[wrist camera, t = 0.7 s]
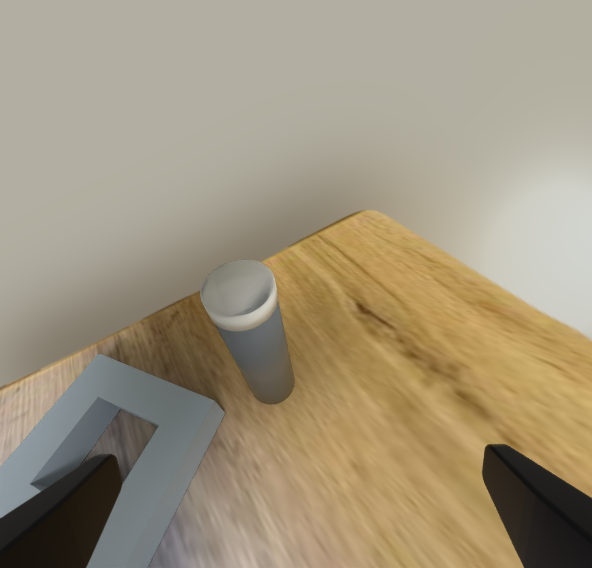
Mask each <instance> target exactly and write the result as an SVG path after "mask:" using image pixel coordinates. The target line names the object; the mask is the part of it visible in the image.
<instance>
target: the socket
mask: <svg viewBox="0 0 592 568" xmlns="http://www.w3.org/2000/svg"><path fill="white" fill-rule="evenodd" d="M120 409H121V410H123V411H125V412H127V413H129V414H132V415H134V416H136V417H138V418H140V419H142V420H144V421H146V422H149V423H151V424H153V425H155V426H157V427H158V428H157V429H156V431H155V433H154V434H153V436H152V438H151V439H150V441H149V442H148V444H147V446H146V447H145V449H144V450H143V452H142V454H141V455H140V457H139V458H138V460H137V462H136V463H135V465H134V466H133V468H132V470H131V471H130V473H129V475H128V476H127V478H126V479H125V481H124V483H123V484H122V488H121V491H120V494H119V496H118V498H117V501H116V503H115V505H114V507H113V510H112V512H111V514H110V516H109V519H108V521H107V523H106V525H105V528H104V530H103V532H102V534H101V537H100V539H99V541H98V543H97V546H96V548H95V550H94V552H93V555H92V557H91V559H90V561H89V563H88V565H87V567H86V568H148V566H149V564H150V562H151V560H152V558H153V556H154V554H155V552H156V550H157V548H158V546H159V544H160V542H161V540H162V538H163V536H164V534H165V532H166V530H167V528H168V526H169V524H170V522H171V520H172V518H173V516H174V514H175V512H176V510H177V508H178V506H179V504H180V502H181V500H182V498H183V496H184V494H185V492H186V490H187V488H188V486H189V484H190V482H191V480H192V478H193V476H194V474H195V472H196V470H197V468H198V466H199V464H200V462H201V460H202V458H203V456H204V454H205V452H206V451H207V449H208V447H209V445H210V443H211V441H212V439H213V437H214V435H215V433H216V431H217V429H218V427H219V425H220V423H221V421H222V419H223V417H224V415H225V412H224V411H223V410H222V409H221V407H220V406H219V405H218V404H217V403H216V402H215V401H214V400H212V399H210V398H207V397H205V396H202V395H200V394H197V393H195V392H192V391H190V390H188V389H185V388H183V387H180V386H178V385H175V384H173V383H170V382H168V381H165V380H163V379H161V378H158V377H156V376H153V375H151V374H148V373H146V372H143V371H141V370H138V369H136V368H134V367H131V366H129V365H126V364H124V363H121V362H119V361H116V360H114V359H111V358H109V357H107V356H104V355H102V354H99V353H98V355H97V356H96V357H95V358H94V359H93V360H92V362H91V363H90V364H89V365H88V366H87V367H86V368H85V370H84V371H83V372H82V373H81V374H80V375H79V377H78V378H77V379H76V380H75V381H74V382H73V384H72V385H71V386H70V387H69V388H68V389H67V391H66V392H65V393H64V394H63V395H62V396H61V397H60V399H59V400H58V401H57V402H56V403H55V404H54V406H53V407H52V408H51V409H50V410H49V411H48V413H47V414H46V415H45V416H44V417H43V418H42V420H41V421H40V422H39V423H38V424H37V425H36V426H35V428H34V429H33V430H32V431H31V432H30V433H29V435H28V436H27V437H26V438H25V439H24V440H23V442H22V443H21V444H20V445H19V446H18V447H17V449H16V450H15V451H14V452H13V453H12V454H11V455H10V457H9V458H8V459H7V460H6V461H5V462H4V464H3V465H2V466H1V467H0V518H1V517H3V516H4V515H6V514H7V513H9V512H11V511H12V510H14V509H15V508H17V507H18V506H20V505H21V504H23V503H24V502H26V501H27V500H29V499H30V498H32V497H33V496H35V495H36V494H38V493H39V492H41V491H42V490H44V489H46V488H47V487H49V486H50V485H52V484H53V483H55V482H56V481H58V480H59V479H61V478H62V477H64V476H65V475H67V474H68V473H70V472H71V471H73V470H74V469H76V468H77V467H79V466H80V465H81V463H82V462H83V460H84V459H85V458H86V456H87V455H88V453H89V452H90V451H91V449H92V448H93V447H94V445H95V444H96V442H97V441H98V440H99V438H100V437H101V435H102V434H103V433H104V431H105V430H106V428H107V427H108V426H109V424H110V423H111V422H112V420H113V419H114V417H115V416H116V415H117V413H118V412H119V410H120Z"/></svg>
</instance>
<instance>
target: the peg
mask: <svg viewBox="0 0 592 568" xmlns="http://www.w3.org/2000/svg"><path fill="white" fill-rule="evenodd" d="M200 297H201V301H202V304H203V306H204V307H205V309H206V311H207V313H208V315H209V316H210V318H211V320H212V321H213V322H214V323H215V325H216V327H217V329H218V331H219V332H220V334H221V336H222V338H223V340H224V341H225V343H226V345H227V347H228V349H229V351H230V352H231V354H232V356H233V358H234V360H235V362H236V363H237V365H238V367H239V369H240V371H241V372H242V374H243V376H244V378H245V380H246V382H247V383H248V385H249V387H250V389H251V391H252V392H253V394H254V396H255V397H256V398H257V399H258V400H259V401H260V402H262V403H265V404H277V403H280V402H282V401H284V400H285V399H286V398H287V397H288V396H289V395H290V394H291V392H292V390H293V387H294V375H293V370H292V365H291V360H290V356H289V351H288V346H287V341H286V336H285V332H284V327H283V322H282V317H281V312H280V307H279V303H278V293H277V288H276V283H275V279H274V275H273V273H272V272H271V270H270V269H269V268H268V267H267V266H266V265H264V264H262V263H260V262H258V261H254V260H247V259H245V260H244V259H243V260H235V261H231V262H228V263H225V264H223V265H221V266H219V267H218V268H216V269H215V270H214V271H212V272H211V273H210V274H209V275H208V276H207V278H206V279H205V281H204V282H203V284H202V287H201V291H200Z"/></svg>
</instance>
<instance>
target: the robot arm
mask: <svg viewBox="0 0 592 568" xmlns="http://www.w3.org/2000/svg"><path fill="white" fill-rule="evenodd" d="M482 476H483V480H484V483H485V485H486V488H487V490H488V492H489V494H490V496H491V498H492V501H493V503H494V505H495V507H496V509H497V511H498V513H499V516H500V518H501V520H502V522H503V524H504V526H505V528H506V531H507V533H508V535H509V537H510V539H511V541H512V544H513V546H514V548H515V550H516V552H517V554H518V556H519V558H520V560H521V562H522V564H523V566H524V568H592V498H591V497H589V496H588V495H586V494H584V493H583V492H581V491H580V490H578V489H576V488H575V487H573V486H572V485H570V484H569V483H567V482H565V481H564V480H562V479H561V478H559V477H557V476H556V475H554V474H553V473H551V472H550V471H548V470H546V469H545V468H543V467H542V466H540V465H538V464H537V463H535V462H534V461H532V460H530V459H529V458H527V457H526V456H524V455H523V454H521V453H519V452H518V451H516V450H515V449H513V448H511V447H510V446H508V445H506V444H489V445H487V446H486V447H485V451H484V460H483V469H482ZM121 488H122V476H121V473H120V469H119V465H118V462H117V458H116V457H115V456H114V455H112V454H103V455H96V456H94V457H93V458H91V459H90V460H88V461H87V462H85V463H84V464H82V465H80V466H79V467H77V468H76V469H74V470H73V471H71V472H70V473H68V474H67V475H65V476H64V477H62V478H61V479H59V480H58V481H56V482H55V483H53V484H52V485H50V486H49V487H47V488H46V489H44V490H42V491H41V492H39V493H38V494H36V495H35V496H33V497H32V498H30V499H29V500H27V501H26V502H24V503H23V504H21V505H20V506H18V507H17V508H15V509H14V510H12V511H11V512H9V513H7V514H6V515H4V516H3V517H1V518H0V568H86V567H87V565H88V563H89V561H90V559H91V557H92V555H93V552H94V550H95V548H96V546H97V543H98V541H99V539H100V537H101V534H102V532H103V530H104V528H105V525H106V523H107V521H108V519H109V516H110V514H111V512H112V510H113V507H114V505H115V503H116V501H117V498H118V496H119V494H120V491H121Z"/></svg>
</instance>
